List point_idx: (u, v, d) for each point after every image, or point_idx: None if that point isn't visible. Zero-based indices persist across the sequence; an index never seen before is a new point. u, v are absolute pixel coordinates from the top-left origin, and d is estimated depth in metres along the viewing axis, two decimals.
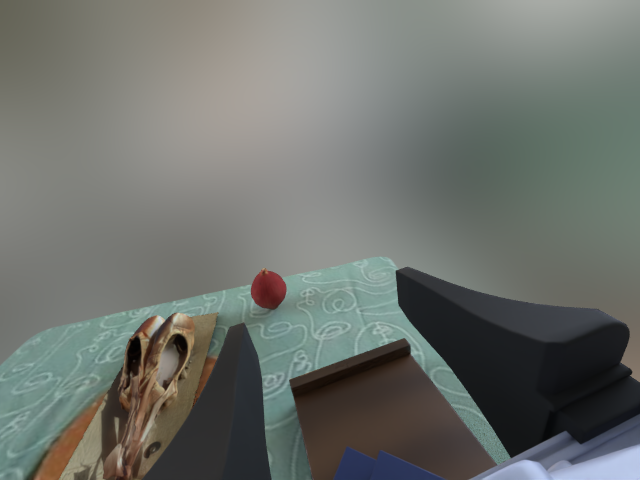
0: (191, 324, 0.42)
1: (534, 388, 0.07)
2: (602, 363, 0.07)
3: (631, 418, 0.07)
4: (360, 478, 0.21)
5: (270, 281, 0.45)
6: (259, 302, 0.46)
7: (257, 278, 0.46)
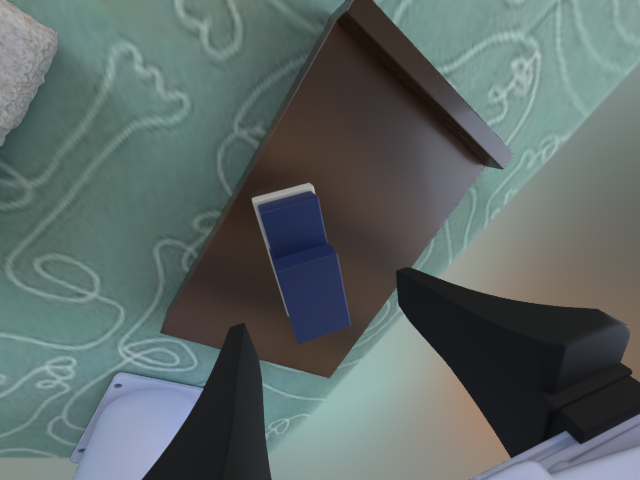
0: None
1: (534, 388, 0.07)
2: (602, 363, 0.07)
3: (631, 418, 0.07)
4: (296, 236, 0.16)
5: None
6: None
7: None
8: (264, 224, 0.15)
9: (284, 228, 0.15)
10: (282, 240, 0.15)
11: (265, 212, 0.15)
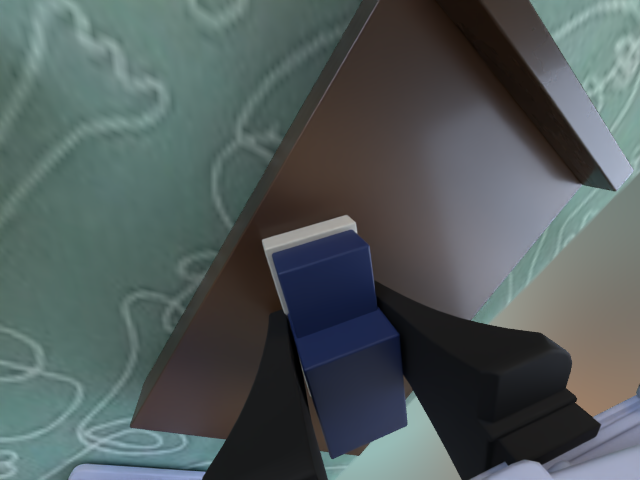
0: None
1: (475, 415, 0.07)
2: (544, 390, 0.07)
3: (573, 448, 0.07)
4: (333, 304, 0.10)
5: None
6: None
7: None
8: (284, 290, 0.09)
9: (314, 294, 0.10)
10: (311, 310, 0.10)
11: (286, 272, 0.09)
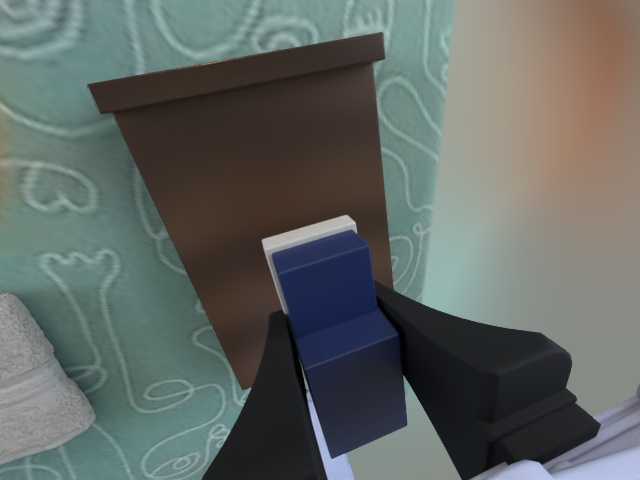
0: None
1: (475, 415, 0.07)
2: (544, 390, 0.07)
3: (573, 448, 0.07)
4: (333, 304, 0.10)
5: None
6: None
7: None
8: (284, 290, 0.09)
9: (314, 294, 0.10)
10: (311, 310, 0.10)
11: (286, 272, 0.09)
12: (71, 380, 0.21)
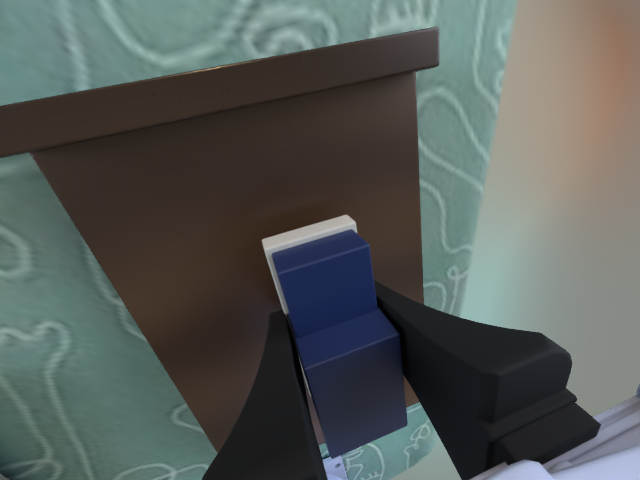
0: None
1: (475, 415, 0.07)
2: (544, 390, 0.07)
3: (573, 448, 0.07)
4: (333, 304, 0.10)
5: None
6: None
7: None
8: (284, 289, 0.09)
9: (314, 293, 0.10)
10: (311, 310, 0.10)
11: (286, 272, 0.09)
12: None
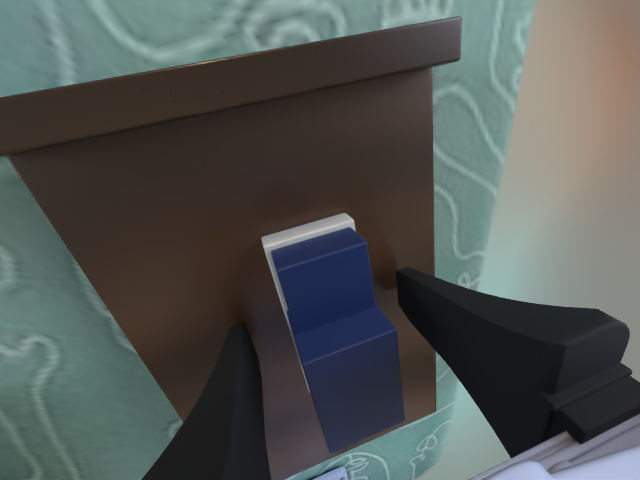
0: None
1: (534, 388, 0.07)
2: (602, 363, 0.07)
3: (630, 417, 0.07)
4: (331, 300, 0.10)
5: None
6: None
7: None
8: (283, 286, 0.09)
9: (312, 290, 0.10)
10: (310, 306, 0.10)
11: (285, 268, 0.09)
12: None
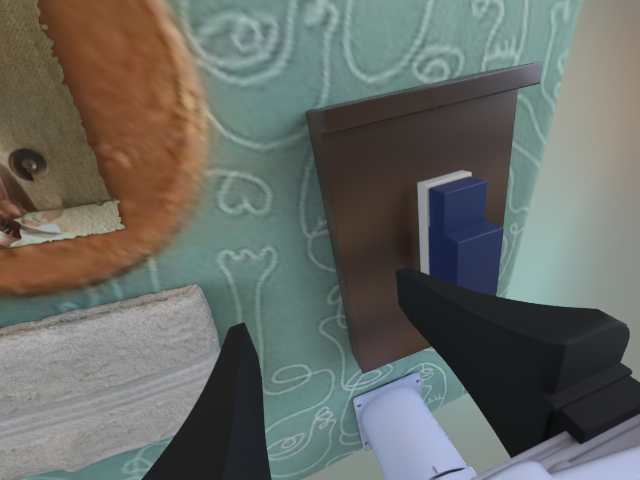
0: None
1: (534, 388, 0.07)
2: (602, 363, 0.07)
3: (630, 417, 0.07)
4: (465, 214, 0.18)
5: None
6: None
7: None
8: (445, 203, 0.18)
9: (457, 207, 0.18)
10: (454, 217, 0.18)
11: (448, 192, 0.17)
12: None
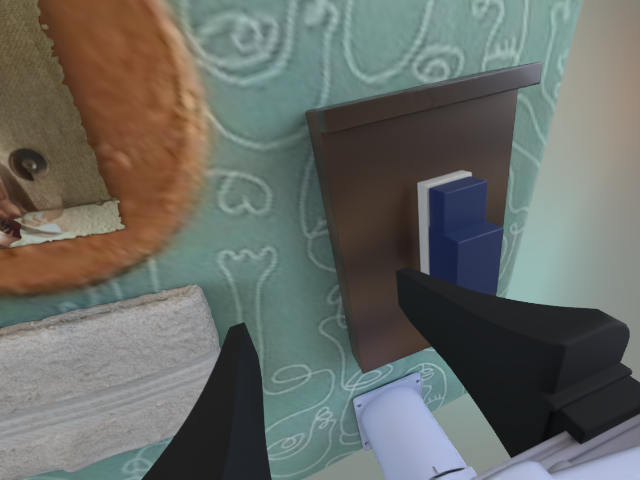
0: None
1: (534, 388, 0.07)
2: (602, 363, 0.07)
3: (630, 417, 0.07)
4: (465, 214, 0.18)
5: None
6: None
7: None
8: (445, 203, 0.18)
9: (457, 207, 0.18)
10: (454, 217, 0.18)
11: (448, 192, 0.17)
12: None
